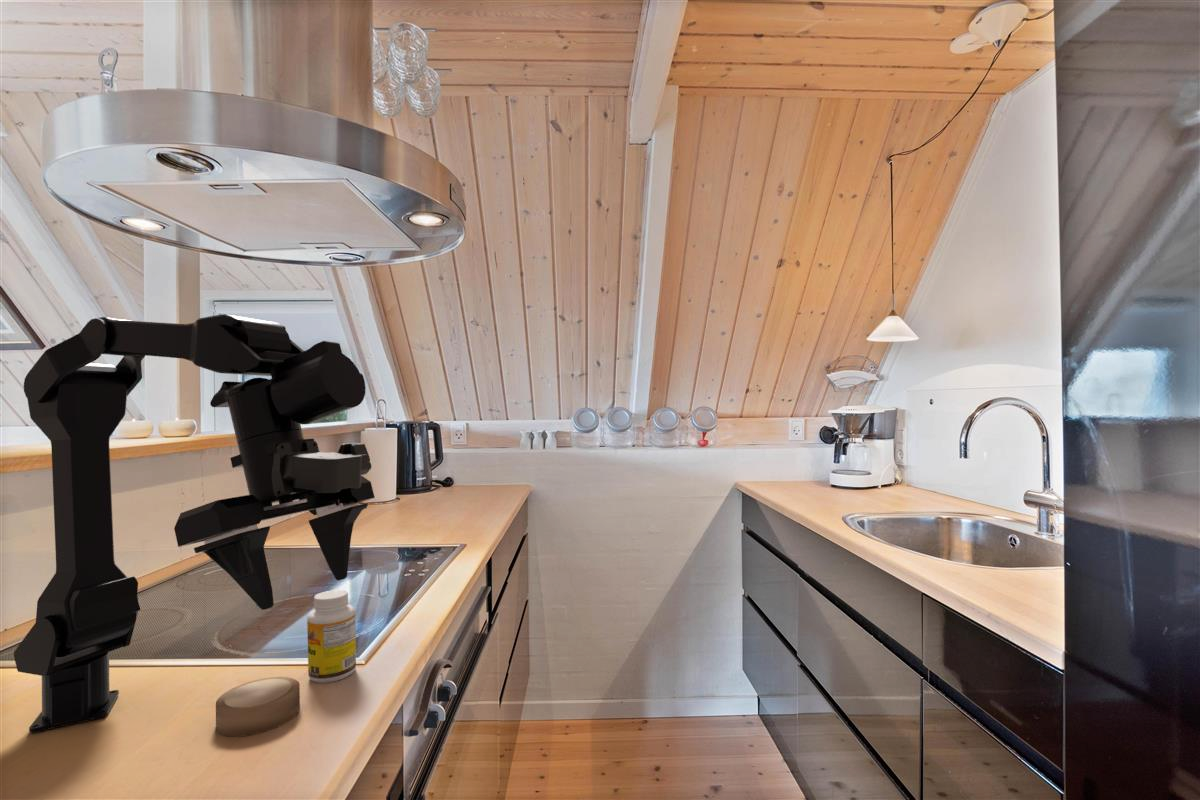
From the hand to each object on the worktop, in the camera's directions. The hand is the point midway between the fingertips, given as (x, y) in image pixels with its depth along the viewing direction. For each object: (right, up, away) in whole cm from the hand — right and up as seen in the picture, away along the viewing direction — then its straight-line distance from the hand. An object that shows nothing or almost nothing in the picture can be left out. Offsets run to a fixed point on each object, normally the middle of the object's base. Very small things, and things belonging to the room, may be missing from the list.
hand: (307, 592), depth 57 cm
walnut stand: (-9, -16, +8) cm, 20 cm away
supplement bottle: (-6, -17, +18) cm, 25 cm away
